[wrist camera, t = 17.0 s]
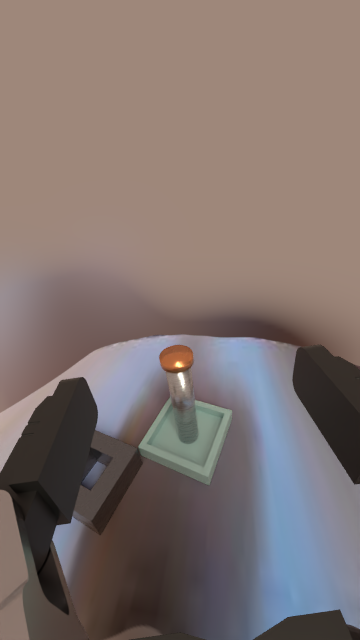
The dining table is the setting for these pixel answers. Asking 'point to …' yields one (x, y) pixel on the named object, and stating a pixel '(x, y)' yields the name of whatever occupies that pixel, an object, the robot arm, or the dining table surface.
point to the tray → (188, 457)
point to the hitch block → (106, 480)
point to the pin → (181, 390)
